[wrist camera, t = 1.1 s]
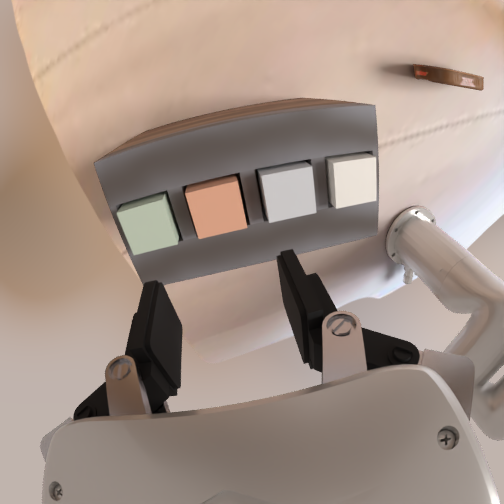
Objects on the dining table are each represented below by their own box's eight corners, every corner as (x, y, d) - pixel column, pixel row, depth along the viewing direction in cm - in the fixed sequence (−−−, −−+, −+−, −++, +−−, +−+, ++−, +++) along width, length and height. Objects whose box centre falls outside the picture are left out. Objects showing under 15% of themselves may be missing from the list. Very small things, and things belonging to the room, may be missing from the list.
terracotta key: (243, 215, 24) (247, 228, 22) (199, 225, 23) (198, 239, 21) (234, 172, 22) (237, 180, 19) (187, 183, 21) (185, 193, 19)
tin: (459, 72, 33) (492, 76, 25) (461, 87, 34) (493, 93, 27) (402, 62, 32) (437, 62, 25) (405, 80, 34) (439, 83, 27)
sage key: (180, 230, 23) (177, 244, 21) (139, 240, 23) (133, 255, 21) (166, 188, 21) (162, 199, 19) (124, 201, 21) (116, 213, 19)
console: (312, 176, 41) (377, 235, 25) (168, 208, 40) (145, 288, 24) (302, 97, 35) (375, 105, 18) (145, 131, 34) (93, 163, 18)
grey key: (307, 201, 24) (316, 212, 22) (263, 210, 24) (269, 222, 22) (302, 159, 22) (312, 166, 20) (255, 167, 22) (261, 175, 20)
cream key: (363, 190, 24) (376, 200, 22) (325, 198, 24) (336, 208, 22) (361, 150, 22) (376, 157, 20) (321, 155, 22) (333, 163, 20)
